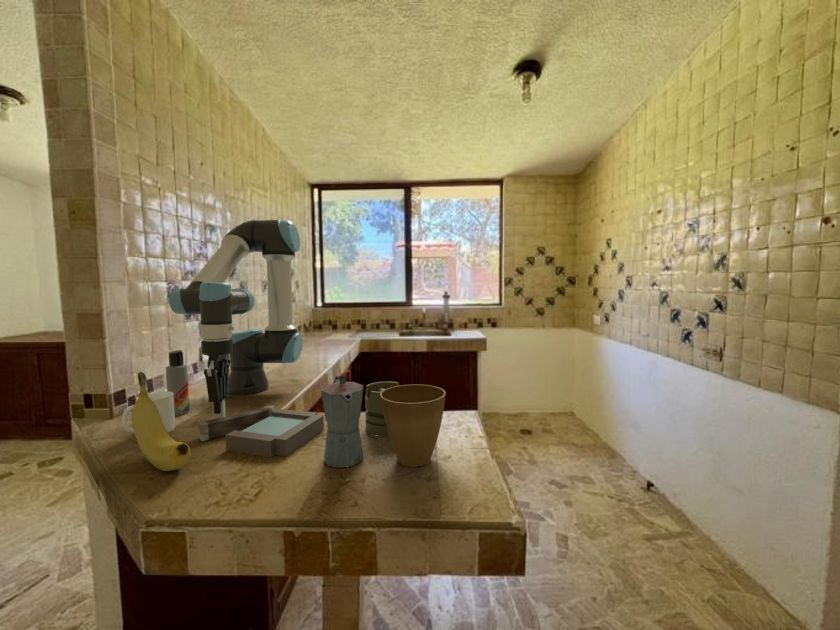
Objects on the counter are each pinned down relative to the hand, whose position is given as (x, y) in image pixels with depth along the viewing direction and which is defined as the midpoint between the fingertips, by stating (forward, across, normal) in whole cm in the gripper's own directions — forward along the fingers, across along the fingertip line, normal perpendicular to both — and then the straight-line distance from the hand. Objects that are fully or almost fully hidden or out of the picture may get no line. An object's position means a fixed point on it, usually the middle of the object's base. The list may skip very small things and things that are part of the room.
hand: (219, 423), depth 102 cm
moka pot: (+2, -22, -34) cm, 41 cm away
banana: (+3, -18, +6) cm, 19 cm away
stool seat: (+2, -8, -18) cm, 19 cm away
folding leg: (+2, 0, -5) cm, 6 cm away
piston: (+2, -6, -46) cm, 46 cm away
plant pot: (+1, -26, -50) cm, 57 cm away
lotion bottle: (+3, +18, +18) cm, 26 cm away
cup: (+3, +2, +18) cm, 19 cm away
